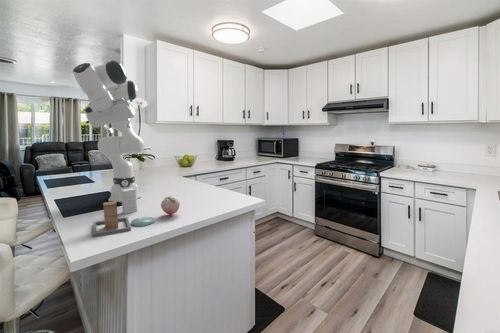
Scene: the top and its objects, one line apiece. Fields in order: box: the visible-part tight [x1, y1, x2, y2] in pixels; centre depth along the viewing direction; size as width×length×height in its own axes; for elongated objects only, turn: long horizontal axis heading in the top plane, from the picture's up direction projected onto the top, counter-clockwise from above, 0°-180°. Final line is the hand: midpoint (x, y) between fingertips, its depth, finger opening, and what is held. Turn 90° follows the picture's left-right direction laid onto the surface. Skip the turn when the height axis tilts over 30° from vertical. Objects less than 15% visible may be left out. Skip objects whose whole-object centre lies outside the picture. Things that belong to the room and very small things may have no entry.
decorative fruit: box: [160, 196, 181, 216], centre depth 133 cm, size 9×8×10 cm
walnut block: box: [102, 201, 119, 231], centre depth 116 cm, size 5×5×11 cm
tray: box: [92, 216, 132, 238], centre depth 116 cm, size 16×14×1 cm
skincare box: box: [121, 188, 138, 214], centre depth 138 cm, size 6×4×12 cm
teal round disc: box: [130, 216, 156, 227], centre depth 123 cm, size 10×10×1 cm
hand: (120, 129), depth 122 cm, fingers open, 8 cm apart
